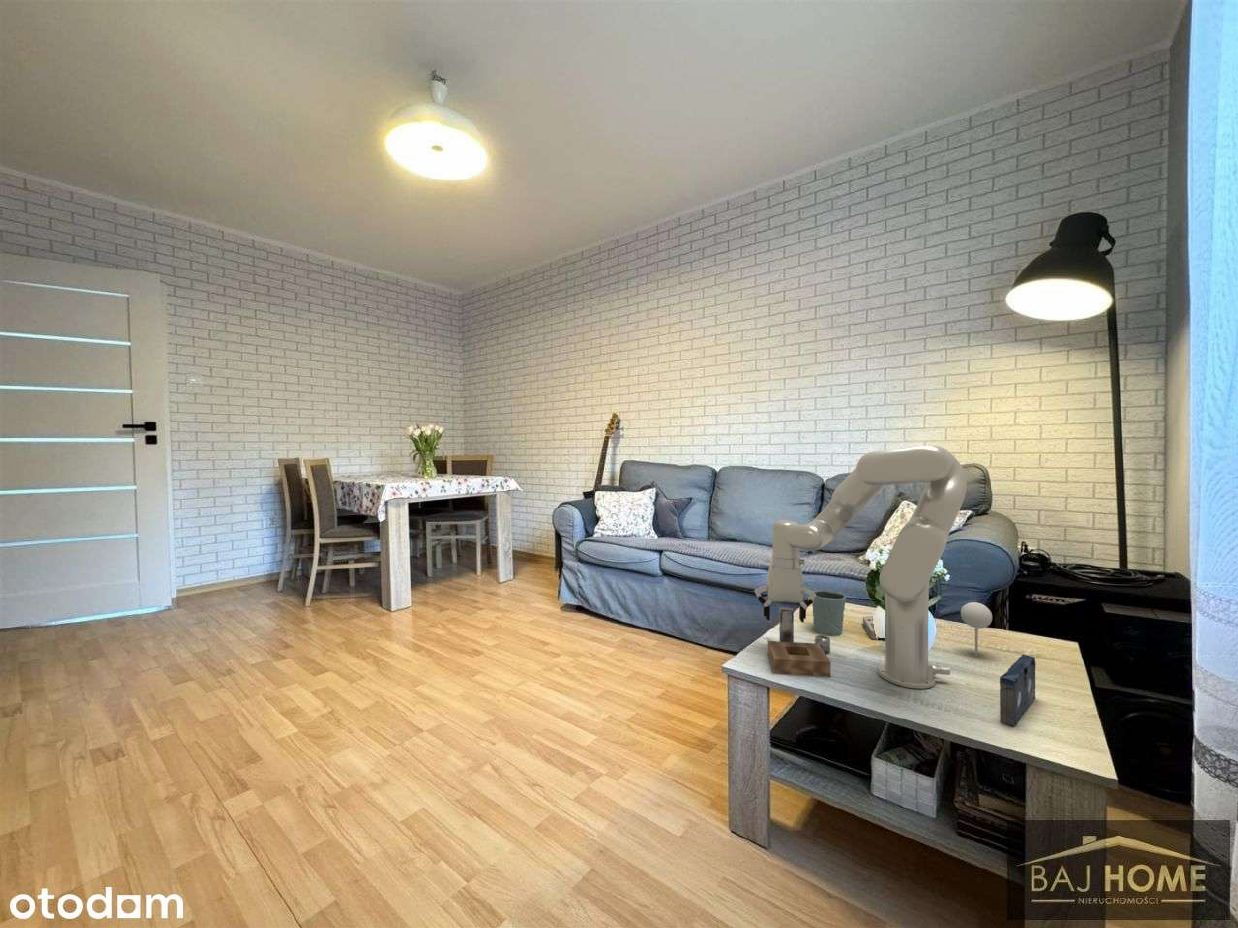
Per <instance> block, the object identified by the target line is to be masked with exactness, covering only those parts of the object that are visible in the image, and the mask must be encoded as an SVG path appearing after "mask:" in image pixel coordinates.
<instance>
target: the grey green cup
mask: <svg viewBox="0 0 1238 928" xmlns="http://www.w3.org/2000/svg"><path fill="white" fill-rule="evenodd" d="M812 592H814V593H815V594H816V597H815V599H814V600H813V603H812V604H811V605H812V616H813V617H812V618H813V619H812V621H813V623H812V624H813V630H814V632H816V633H817V634H819V635H820V634H821V635H822V636H827V637H830V636H831V637H836V636H837V637H838V636H840V635H842V633H843V628H844V626H843V625H844V623H843V622H844V616H845V614H844V613H845V607H846V601H847V600H846V599H847V596H846V595H845V594H843V593H841V592H839V591H834V590H833V591H832V590H828V589H827V590H825V589H824V590H822V589H818V590H812Z"/></svg>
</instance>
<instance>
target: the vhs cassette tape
mask: <svg viewBox="0 0 1238 928" xmlns="http://www.w3.org/2000/svg"><path fill="white" fill-rule="evenodd" d="M1036 664H1037V663H1036V658H1035V657H1034V656H1031V655H1026V654H1022V655H1021V656H1020V657H1018V659H1017V660H1016V661H1015V662H1013V663H1012V664H1011V665H1010V667H1009V668H1008V669H1007V671H1006V672H1004V673H1002V675H1001V676H1000V677H999V687H1000V689H999V701H1000V702H999V705H1000V707H999V708H1000V709H999V710H1000V712H999V713H1000V717H999V718H1000V720H999V721H1000V723H1002V724H1004V725H1006V726H1010V727H1013V728H1016V726H1017V725H1018V724H1019V722H1020V720H1021V719H1022V718H1023V717H1024V715H1025V714H1026V713H1027V711H1028V710H1029V708H1030V707H1031V706H1032V704H1033V703H1034V701H1035V700H1036Z"/></svg>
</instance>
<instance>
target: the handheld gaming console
mask: <svg viewBox="0 0 1238 928" xmlns="http://www.w3.org/2000/svg"><path fill="white" fill-rule="evenodd" d="M873 616H874V615H870V616H869V615H868V616H863V617H862V625H863V627H864V629H865V631H866V632H867V634H868V636H869V638H870V639H871V640H876V639H877V638H876V634H875V630H874V624H873ZM876 641H877V640H876Z"/></svg>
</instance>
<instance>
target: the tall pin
mask: <svg viewBox="0 0 1238 928" xmlns="http://www.w3.org/2000/svg"><path fill="white" fill-rule="evenodd" d="M778 609H779V611H778V612H779V615H778V616H779V623H778V624H779V626H778V627H779V630H778V631H779V642H795V632H794V631H795V629H794V628H795V627H794V624H795V616H794V614H795V612H794V611H795V610H794V609H793V608H792V607H788V606H787V607H786V606H781V607H779V608H778Z"/></svg>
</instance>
